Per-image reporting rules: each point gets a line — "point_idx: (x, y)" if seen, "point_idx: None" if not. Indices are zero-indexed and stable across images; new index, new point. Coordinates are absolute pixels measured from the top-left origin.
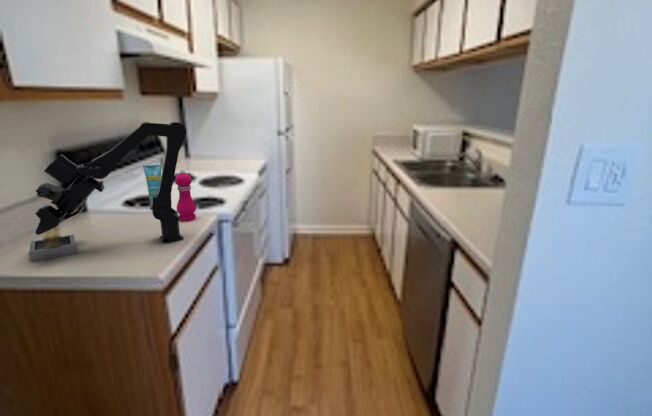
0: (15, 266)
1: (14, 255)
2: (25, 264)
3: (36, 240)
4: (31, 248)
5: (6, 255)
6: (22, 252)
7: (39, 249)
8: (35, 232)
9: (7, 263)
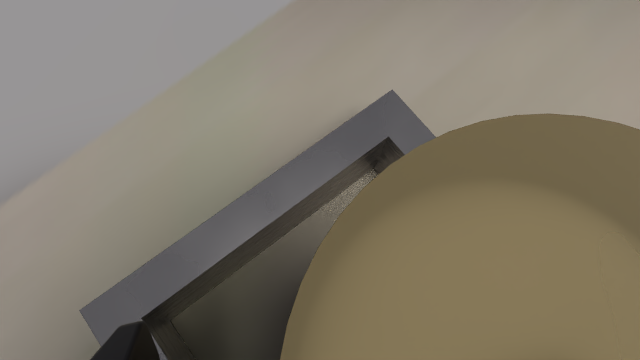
0: (36, 249)
1: (269, 74)
2: (72, 301)
3: (419, 124)
4: (197, 244)
5: (269, 23)
6: (330, 86)
7: (162, 356)
8: (114, 335)
9: (110, 141)
